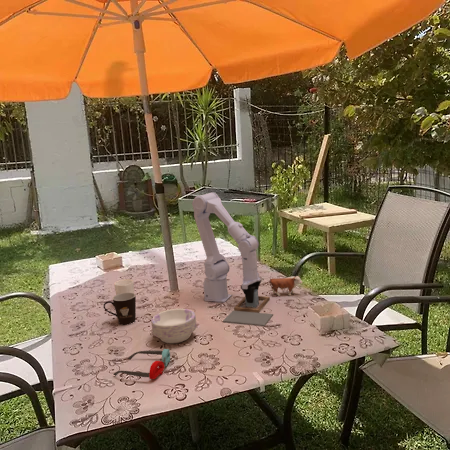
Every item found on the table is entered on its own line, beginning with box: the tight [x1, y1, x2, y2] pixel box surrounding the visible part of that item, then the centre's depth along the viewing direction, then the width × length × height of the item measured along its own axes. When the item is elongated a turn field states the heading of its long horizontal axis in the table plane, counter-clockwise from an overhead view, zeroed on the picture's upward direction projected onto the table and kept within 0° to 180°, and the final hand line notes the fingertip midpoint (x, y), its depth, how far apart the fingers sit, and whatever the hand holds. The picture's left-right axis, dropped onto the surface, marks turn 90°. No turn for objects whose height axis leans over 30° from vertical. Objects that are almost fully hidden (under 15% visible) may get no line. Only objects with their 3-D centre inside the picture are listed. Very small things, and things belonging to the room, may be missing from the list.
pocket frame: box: [233, 295, 271, 313], centre depth 186 cm, size 10×14×1 cm
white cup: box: [113, 278, 135, 295], centre depth 196 cm, size 8×8×10 cm
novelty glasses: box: [112, 348, 171, 380], centre depth 142 cm, size 14×15×5 cm
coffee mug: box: [102, 292, 137, 326], centre depth 179 cm, size 12×9×10 cm
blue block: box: [244, 288, 260, 308], centre depth 186 cm, size 4×4×6 cm
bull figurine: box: [269, 275, 303, 297], centre depth 194 cm, size 4×13×8 cm, turn 78°
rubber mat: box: [222, 310, 274, 327], centre depth 174 cm, size 16×10×1 cm, turn 67°
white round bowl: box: [150, 308, 198, 344], centre depth 162 cm, size 15×15×8 cm
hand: (252, 300), depth 186 cm, fingers closed on blue block, 4 cm apart
